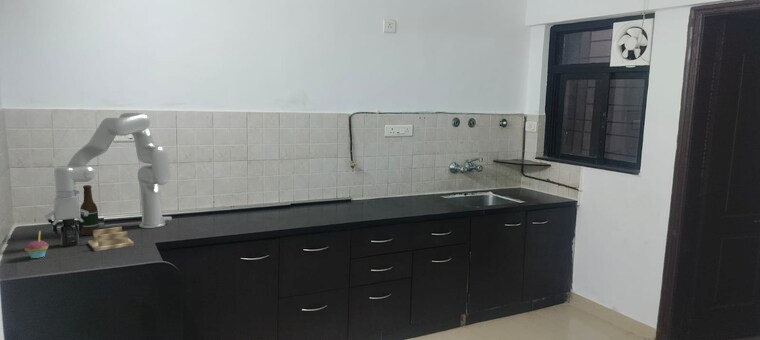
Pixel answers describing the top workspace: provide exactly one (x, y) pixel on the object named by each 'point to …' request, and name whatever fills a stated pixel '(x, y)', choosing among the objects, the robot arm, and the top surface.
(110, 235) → the holder
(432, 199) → the top surface
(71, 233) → the supplement bottle
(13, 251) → the top surface
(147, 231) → the top surface
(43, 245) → the cupcake
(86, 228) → the beer bottle
